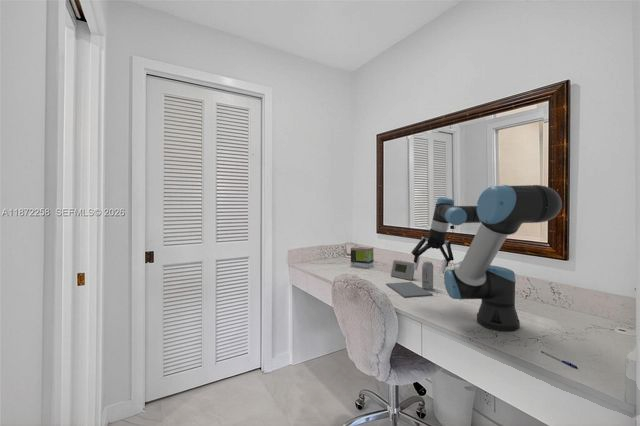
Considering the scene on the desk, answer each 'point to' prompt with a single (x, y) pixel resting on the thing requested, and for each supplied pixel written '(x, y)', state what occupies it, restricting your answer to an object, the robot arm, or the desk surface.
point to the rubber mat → (408, 289)
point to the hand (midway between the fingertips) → (428, 270)
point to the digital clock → (403, 269)
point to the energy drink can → (427, 275)
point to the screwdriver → (561, 360)
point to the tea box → (362, 257)
